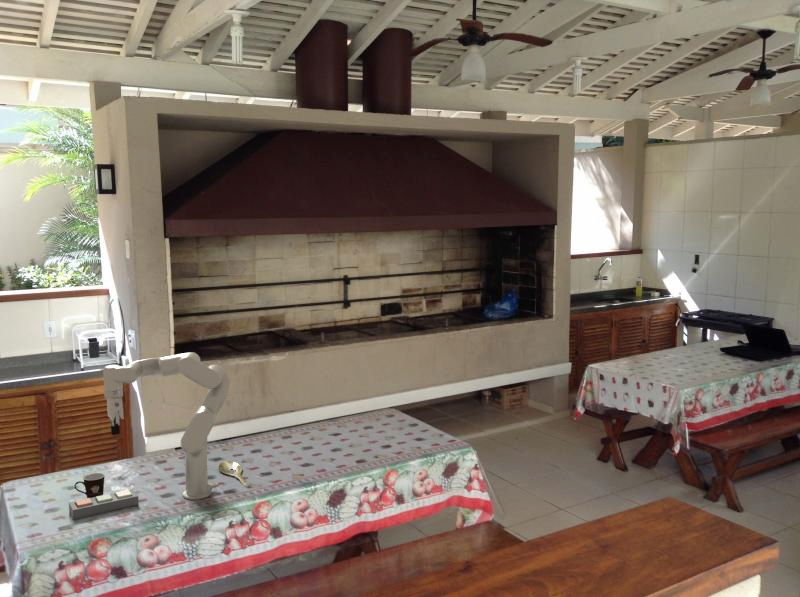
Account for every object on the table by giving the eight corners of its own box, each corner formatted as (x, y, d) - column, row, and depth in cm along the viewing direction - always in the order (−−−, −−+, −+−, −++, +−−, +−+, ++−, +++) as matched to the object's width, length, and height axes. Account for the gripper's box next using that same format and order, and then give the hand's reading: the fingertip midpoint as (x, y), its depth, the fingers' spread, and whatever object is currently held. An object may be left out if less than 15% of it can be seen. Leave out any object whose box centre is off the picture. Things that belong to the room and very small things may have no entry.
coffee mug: (108, 494, 320) (107, 472, 319) (101, 502, 311) (100, 480, 310) (82, 494, 320) (81, 473, 318) (74, 502, 311) (73, 480, 310)
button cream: (128, 498, 312) (128, 489, 312) (131, 502, 308) (131, 493, 307) (115, 501, 309) (115, 492, 308) (118, 505, 305) (118, 496, 304)
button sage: (109, 502, 308) (109, 493, 307) (112, 507, 303) (111, 498, 303) (96, 505, 304) (95, 496, 304) (98, 509, 300) (98, 500, 300)
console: (133, 498, 315) (132, 489, 314) (138, 506, 308) (138, 496, 307) (69, 512, 300) (68, 502, 300) (73, 520, 293) (72, 510, 292)
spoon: (260, 489, 331) (260, 485, 331) (238, 494, 325) (238, 490, 325) (234, 462, 360) (234, 458, 360) (213, 466, 354) (213, 462, 354)
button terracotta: (89, 506, 303) (89, 497, 303) (92, 511, 299) (91, 502, 298) (75, 509, 300) (75, 500, 300) (78, 514, 296) (77, 505, 295)
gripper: (127, 395, 306) (128, 437, 309) (118, 388, 319) (120, 428, 321) (108, 398, 302) (110, 440, 304) (100, 391, 314) (102, 431, 317)
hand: (115, 434), depth 313 cm, fingers closed
